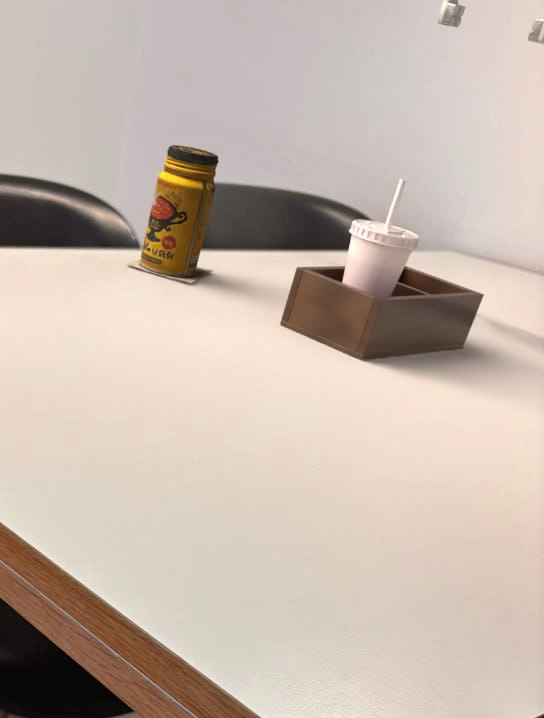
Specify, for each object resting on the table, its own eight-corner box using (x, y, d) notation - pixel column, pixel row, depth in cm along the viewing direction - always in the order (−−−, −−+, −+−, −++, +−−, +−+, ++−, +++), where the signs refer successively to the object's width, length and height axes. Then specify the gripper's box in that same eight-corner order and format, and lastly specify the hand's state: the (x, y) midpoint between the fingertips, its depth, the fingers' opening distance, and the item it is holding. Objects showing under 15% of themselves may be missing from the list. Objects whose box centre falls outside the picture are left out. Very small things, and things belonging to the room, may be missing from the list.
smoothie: (318, 331, 101) (368, 174, 94) (320, 316, 106) (367, 166, 99) (385, 348, 100) (440, 191, 93) (384, 332, 106) (436, 183, 98)
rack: (463, 347, 110) (484, 294, 107) (361, 360, 98) (382, 300, 95) (384, 316, 115) (402, 264, 112) (279, 324, 103) (296, 266, 100)
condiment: (125, 266, 112) (151, 143, 106) (152, 255, 119) (178, 139, 113) (189, 285, 110) (220, 161, 104) (213, 273, 117) (243, 156, 111)
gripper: (687, -131, 88) (612, 58, 95) (467, -150, 99) (416, 20, 106) (658, -148, 84) (583, 50, 91) (433, -165, 95) (382, 12, 102)
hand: (491, 34), depth 99 cm, fingers open, 8 cm apart
